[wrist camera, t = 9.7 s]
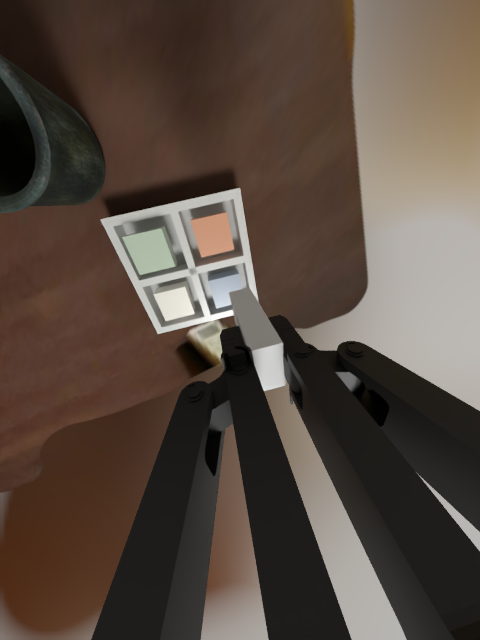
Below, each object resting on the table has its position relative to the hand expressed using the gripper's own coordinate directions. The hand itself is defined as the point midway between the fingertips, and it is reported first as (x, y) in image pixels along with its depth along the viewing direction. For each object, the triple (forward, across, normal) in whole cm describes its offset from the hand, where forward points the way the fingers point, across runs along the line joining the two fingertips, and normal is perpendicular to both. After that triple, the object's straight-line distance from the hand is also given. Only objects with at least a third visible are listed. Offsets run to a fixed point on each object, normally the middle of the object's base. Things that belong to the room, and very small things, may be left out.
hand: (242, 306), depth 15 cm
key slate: (+18, 0, -5) cm, 19 cm away
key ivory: (+19, -8, -5) cm, 21 cm away
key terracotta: (+18, 0, +3) cm, 19 cm away
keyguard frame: (+19, -4, -1) cm, 20 cm away
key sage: (+17, -8, +3) cm, 19 cm away
